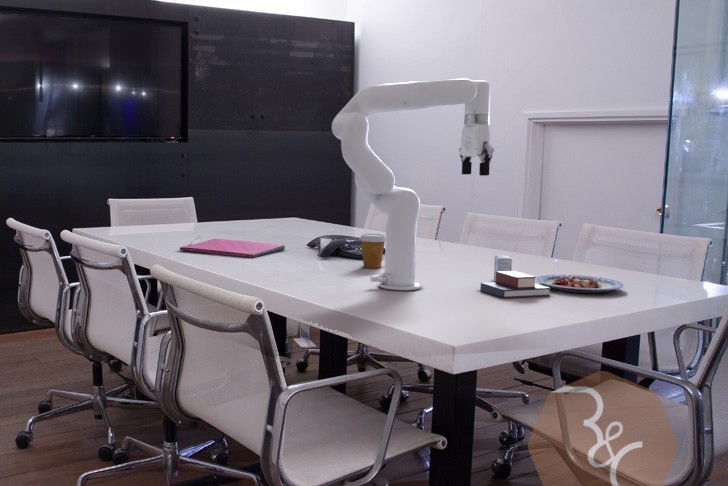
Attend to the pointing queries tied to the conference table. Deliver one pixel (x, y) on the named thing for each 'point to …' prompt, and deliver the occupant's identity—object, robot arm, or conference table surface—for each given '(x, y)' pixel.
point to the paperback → (515, 279)
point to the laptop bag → (233, 248)
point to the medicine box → (502, 264)
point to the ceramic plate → (579, 283)
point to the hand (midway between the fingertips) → (475, 174)
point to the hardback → (514, 290)
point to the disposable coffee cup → (372, 249)
